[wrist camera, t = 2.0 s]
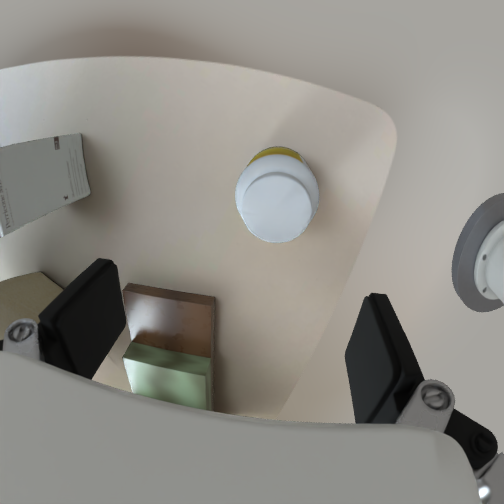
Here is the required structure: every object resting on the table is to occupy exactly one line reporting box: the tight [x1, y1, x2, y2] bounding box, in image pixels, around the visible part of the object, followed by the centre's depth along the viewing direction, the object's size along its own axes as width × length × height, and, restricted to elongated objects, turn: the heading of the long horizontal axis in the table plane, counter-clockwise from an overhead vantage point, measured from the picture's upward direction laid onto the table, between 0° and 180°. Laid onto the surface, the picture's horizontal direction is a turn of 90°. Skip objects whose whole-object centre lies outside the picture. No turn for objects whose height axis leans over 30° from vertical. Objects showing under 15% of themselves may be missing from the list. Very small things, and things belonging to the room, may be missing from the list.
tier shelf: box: [122, 283, 215, 412], centre depth 39 cm, size 12×27×9 cm, turn 175°
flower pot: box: [0, 272, 63, 340], centre depth 34 cm, size 19×19×17 cm
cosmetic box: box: [0, 133, 91, 237], centre depth 24 cm, size 8×6×15 cm
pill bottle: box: [235, 147, 319, 243], centre depth 24 cm, size 6×6×12 cm
